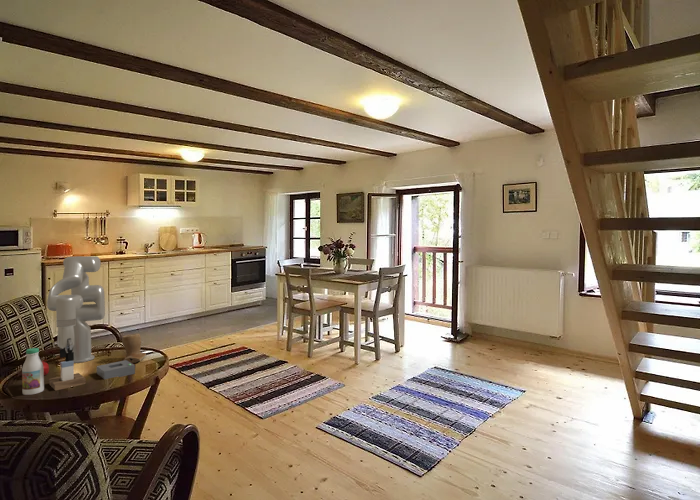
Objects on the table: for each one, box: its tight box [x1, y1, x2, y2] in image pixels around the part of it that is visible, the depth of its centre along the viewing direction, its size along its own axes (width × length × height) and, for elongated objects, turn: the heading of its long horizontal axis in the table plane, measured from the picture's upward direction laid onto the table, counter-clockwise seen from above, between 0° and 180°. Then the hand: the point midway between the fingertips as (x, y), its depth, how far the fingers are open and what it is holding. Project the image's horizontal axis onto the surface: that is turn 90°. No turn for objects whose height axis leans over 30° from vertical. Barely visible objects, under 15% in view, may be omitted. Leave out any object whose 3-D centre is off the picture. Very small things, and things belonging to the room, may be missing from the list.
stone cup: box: [121, 332, 147, 364], centre depth 233 cm, size 15×12×15 cm
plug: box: [59, 361, 75, 382], centre depth 194 cm, size 3×5×11 cm
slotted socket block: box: [48, 372, 87, 391], centre depth 194 cm, size 12×12×3 cm
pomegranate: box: [40, 358, 50, 377], centre depth 207 cm, size 10×10×9 cm
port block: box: [96, 359, 136, 380], centre depth 210 cm, size 12×14×5 cm
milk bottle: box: [21, 347, 45, 396], centre depth 184 cm, size 8×8×20 cm
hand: (66, 359), depth 193 cm, fingers open, 9 cm apart
